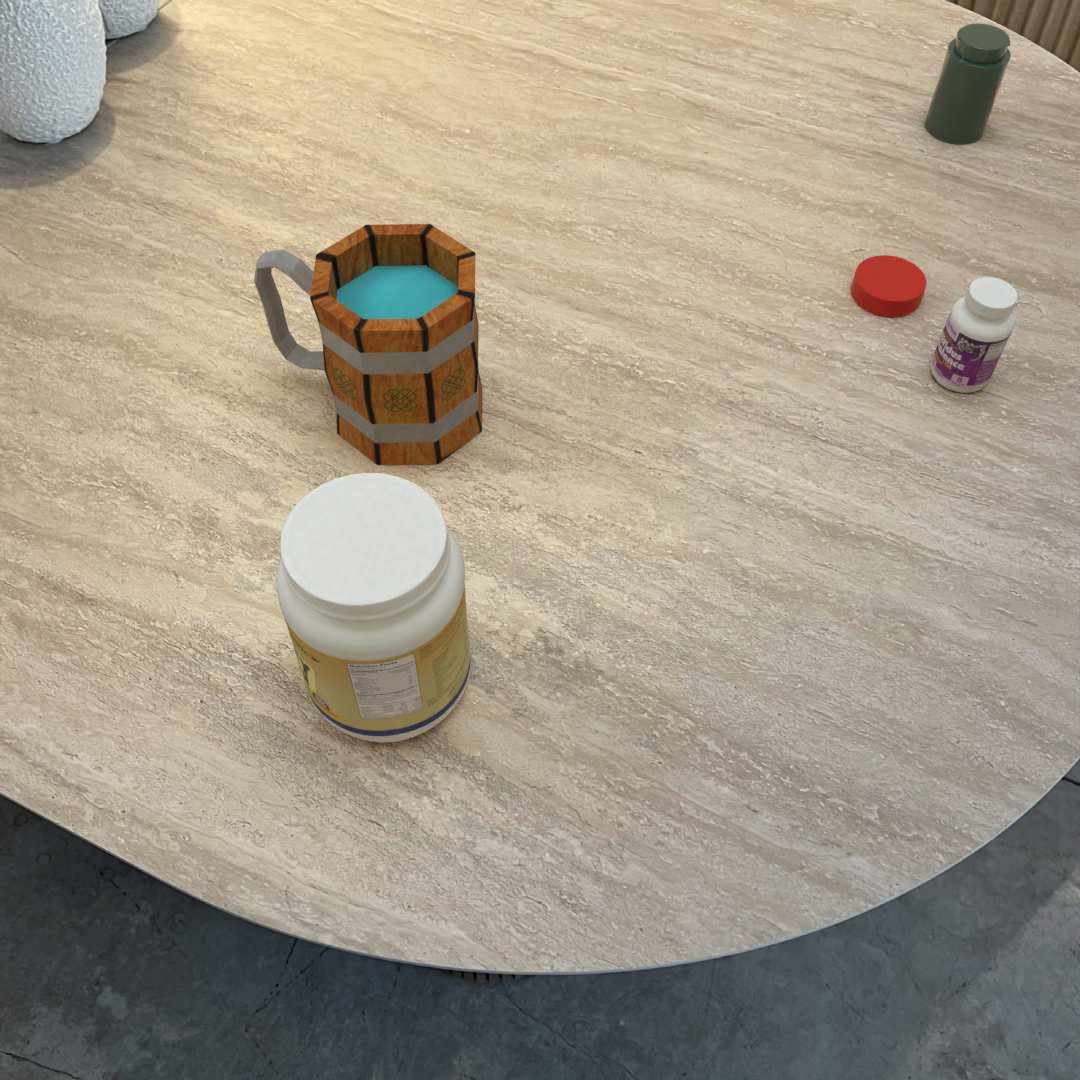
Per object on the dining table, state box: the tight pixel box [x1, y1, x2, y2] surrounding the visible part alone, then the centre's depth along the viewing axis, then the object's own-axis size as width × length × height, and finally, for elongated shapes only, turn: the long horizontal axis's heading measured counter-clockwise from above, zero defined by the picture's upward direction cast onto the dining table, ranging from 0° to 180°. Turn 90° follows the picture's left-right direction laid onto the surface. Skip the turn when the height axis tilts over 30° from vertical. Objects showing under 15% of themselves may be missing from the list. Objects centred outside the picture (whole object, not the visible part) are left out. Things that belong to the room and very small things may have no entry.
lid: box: [850, 254, 927, 318], centre depth 109 cm, size 7×7×2 cm
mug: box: [253, 223, 483, 466], centre depth 95 cm, size 20×14×15 cm
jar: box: [924, 23, 1012, 145], centre depth 123 cm, size 6×6×11 cm
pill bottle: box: [930, 276, 1019, 394], centre depth 100 cm, size 5×5×10 cm
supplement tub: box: [276, 472, 472, 743], centre depth 77 cm, size 12×12×17 cm
